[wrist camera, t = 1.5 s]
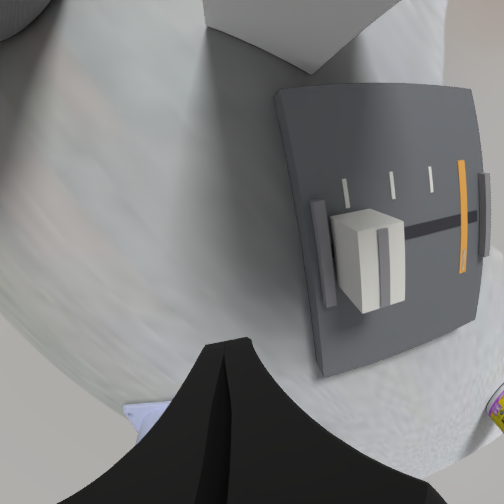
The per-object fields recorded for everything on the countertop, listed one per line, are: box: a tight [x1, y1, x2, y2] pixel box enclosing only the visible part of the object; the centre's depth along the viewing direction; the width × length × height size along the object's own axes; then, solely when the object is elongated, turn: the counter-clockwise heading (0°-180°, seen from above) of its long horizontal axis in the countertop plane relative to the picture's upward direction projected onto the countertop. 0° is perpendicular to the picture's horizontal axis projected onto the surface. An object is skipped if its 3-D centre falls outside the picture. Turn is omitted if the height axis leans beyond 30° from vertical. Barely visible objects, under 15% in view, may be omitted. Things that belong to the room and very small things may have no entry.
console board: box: [274, 83, 491, 378], centre depth 17 cm, size 18×14×3 cm
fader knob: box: [330, 209, 405, 314], centre depth 14 cm, size 4×2×4 cm, turn 11°
